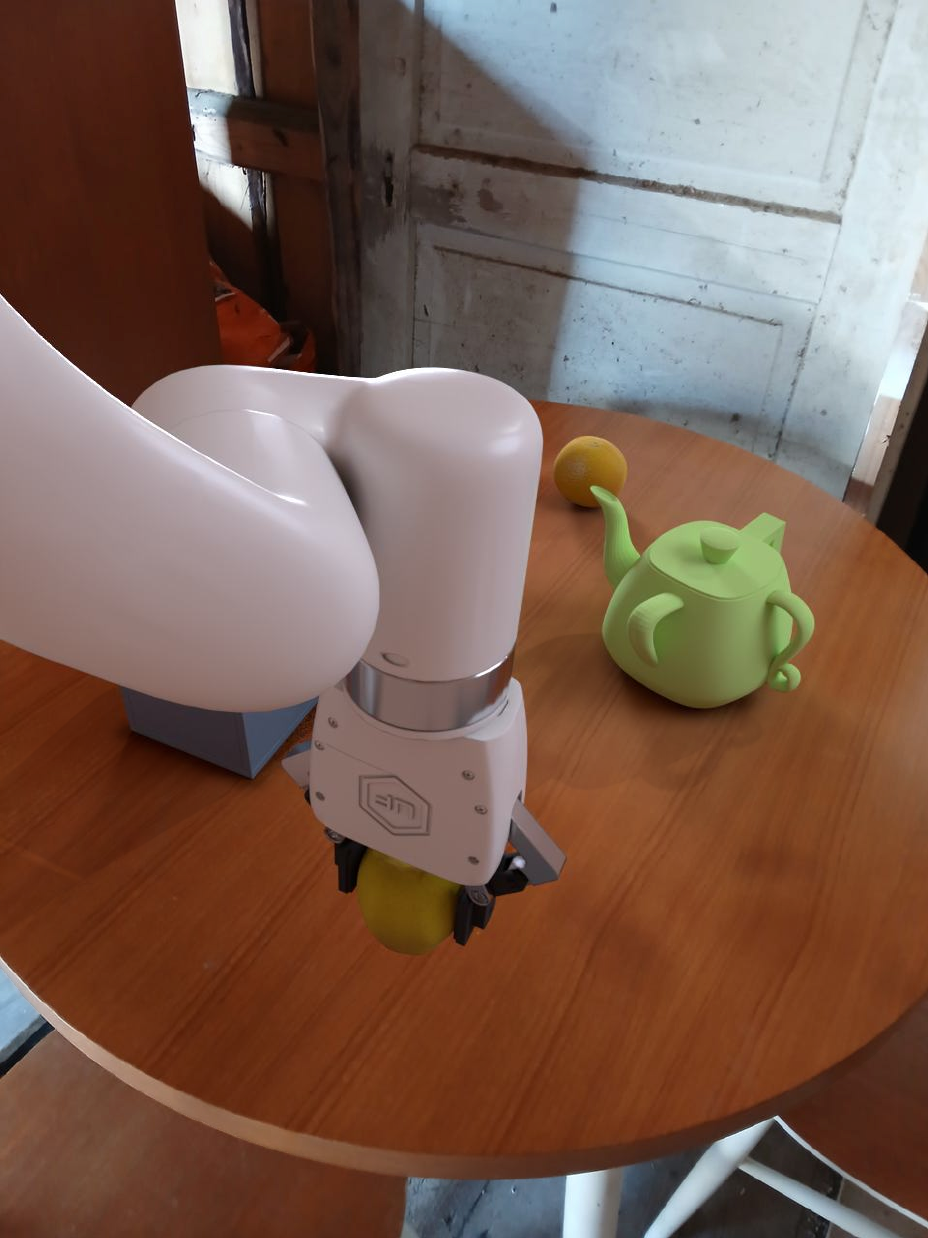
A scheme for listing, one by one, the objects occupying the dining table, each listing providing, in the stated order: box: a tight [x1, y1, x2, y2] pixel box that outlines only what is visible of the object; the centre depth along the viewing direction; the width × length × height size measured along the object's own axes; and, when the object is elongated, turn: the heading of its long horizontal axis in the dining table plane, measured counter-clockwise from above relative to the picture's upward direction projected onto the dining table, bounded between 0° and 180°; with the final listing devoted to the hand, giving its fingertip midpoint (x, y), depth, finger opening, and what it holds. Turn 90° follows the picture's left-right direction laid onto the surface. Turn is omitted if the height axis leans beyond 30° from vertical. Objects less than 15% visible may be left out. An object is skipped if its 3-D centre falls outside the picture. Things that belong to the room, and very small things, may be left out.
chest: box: [118, 685, 319, 780], centre depth 79 cm, size 16×13×11 cm
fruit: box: [552, 435, 628, 508], centre depth 109 cm, size 9×8×8 cm
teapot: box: [590, 486, 815, 709], centre depth 85 cm, size 19×20×14 cm
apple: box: [356, 847, 464, 957], centre depth 50 cm, size 6×6×8 cm
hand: (412, 896), depth 51 cm, fingers closed on apple, 6 cm apart
